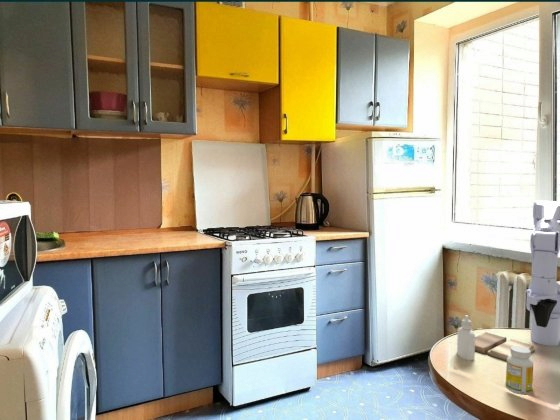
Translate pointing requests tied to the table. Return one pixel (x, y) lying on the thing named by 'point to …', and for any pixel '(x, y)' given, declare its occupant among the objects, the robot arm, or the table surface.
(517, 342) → the board
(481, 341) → the floor section
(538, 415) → the table surface
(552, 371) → the table surface
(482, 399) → the table surface
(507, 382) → the supplement bottle
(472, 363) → the table surface
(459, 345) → the eye dropper bottle
